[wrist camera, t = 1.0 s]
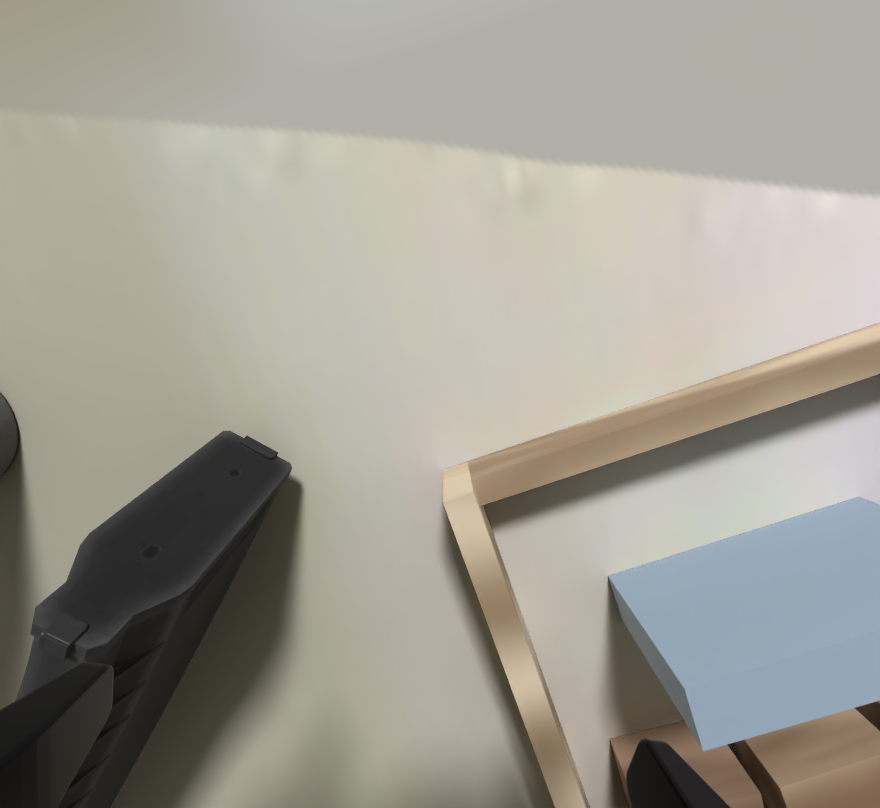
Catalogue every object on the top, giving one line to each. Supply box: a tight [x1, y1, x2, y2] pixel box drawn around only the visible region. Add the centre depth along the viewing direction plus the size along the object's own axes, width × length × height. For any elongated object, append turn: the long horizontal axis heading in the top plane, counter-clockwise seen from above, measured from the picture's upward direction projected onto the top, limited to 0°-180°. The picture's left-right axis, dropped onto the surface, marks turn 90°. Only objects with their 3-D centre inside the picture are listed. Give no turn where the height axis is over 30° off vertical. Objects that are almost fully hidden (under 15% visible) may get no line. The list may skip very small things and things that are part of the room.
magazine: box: [16, 431, 292, 808], centre depth 18 cm, size 17×3×30 cm
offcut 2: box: [734, 708, 880, 808], centre depth 21 cm, size 4×5×4 cm
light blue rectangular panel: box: [608, 497, 880, 751], centre depth 18 cm, size 2×12×7 cm, turn 110°
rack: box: [443, 323, 880, 808], centre depth 20 cm, size 22×23×4 cm
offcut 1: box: [610, 721, 764, 808], centre depth 21 cm, size 4×5×4 cm
